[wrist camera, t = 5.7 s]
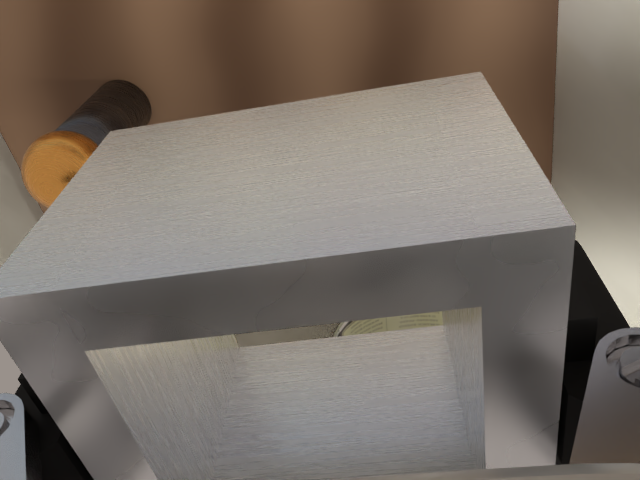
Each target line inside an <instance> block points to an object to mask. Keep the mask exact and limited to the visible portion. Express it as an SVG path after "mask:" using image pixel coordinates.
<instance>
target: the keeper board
mask: <svg viewBox="0 0 640 480" xmlns="http://www.w3.org/2000/svg"><path fill="white" fill-rule="evenodd" d="M558 1H559V0H0V132H1V134H2V136H3V138H4V140H5V142H6V143H7V145H8V147H9V149H10V151H11V153H12V155H13V157H14V158H15V160H16V162H17V164H18V166H19V168H20V170H21V165H22V160H23V157H24V154H25V152H26V151H27V149H28V147H29V146H30V145H31V144H32V143H33V142H34V141H35V140H36V139H38V138H39V137H41V136H42V135H45V134H47V133H50V132H54V131H55V130H56V129H57V128H58V127H59V126H60V125H61V124H62V123H63V122H64V121H65V120H66V119H67V118H69V117H70V116H71V115H72V114H73V113H74V112H75V111H76V110H77V109H78V108H79V107H80V106H81V105H82V104H83V103H84V102H85V101H86V100H87V99H88V98H90V97H91V96H92V95H93V94H94V93H95V92H96V91H97V90H98V89H99V88H100V87H101V86H102V85H103V84H105V83H106V82H109V81H112V80H124V81H128V82H130V83H133V84H134V85H136V86H137V87H139V88H140V89H141V90H142V91H143V92H144V93H145V95H146V96H147V98H148V99H149V102H150V105H151V110H152V114H151V119H150V121H149V123H148V125H152V124H158V123H164V122H171V121H177V120H183V119H189V118H195V117H202V116H208V115H214V114H220V113H226V112H233V111H239V110H245V109H251V108H257V107H264V106H270V105H276V104H282V103H288V102H295V101H301V100H307V99H313V98H319V97H326V96H332V95H338V94H344V93H350V92H357V91H363V90H369V89H375V88H381V87H388V86H394V85H400V84H406V83H412V82H419V81H425V80H431V79H437V78H443V77H450V76H456V75H462V74H468V73H474V72H481V73H482V74H483V76H484V77H485V79H486V81H487V82H488V84H489V85H490V87H491V89H492V90H493V92H494V94H495V95H496V97H497V98H498V100H499V102H500V103H501V105H502V106H503V108H504V110H505V111H506V113H507V114H508V116H509V118H510V119H511V121H512V123H513V124H514V126H515V127H516V129H517V131H518V132H519V134H520V135H521V137H522V139H523V140H524V142H525V143H526V145H527V147H528V148H529V150H530V152H531V153H532V155H533V156H534V158H535V160H536V161H537V163H538V164H539V166H540V168H541V169H542V171H543V172H544V174H545V176H546V177H547V179H548V181H549V182H550V184H551V177H552V152H553V127H554V102H555V77H556V52H557V26H558ZM38 203H39V202H38ZM39 205H40V207H41V209H42V211H43V213H45V212H46V211H47V209H48V208H47V207H45V206H43V205H42V204H40V203H39Z"/></svg>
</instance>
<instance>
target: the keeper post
mask: <svg viewBox="0 0 640 480" xmlns="http://www.w3.org/2000/svg"><path fill="white" fill-rule="evenodd" d="M151 114H152V110H151V105H150V102H149V99H148V98H147V96H146V95H145V93H144V92H143V91H142V90H141V89H140V88H139V87H137V86H136V85H134V84H133V83H130V82H128V81H124V80H112V81H109V82H106V83H105V84H103V85H102V86H101V87H100V88H99V89H98V90H97V91H96V92H95V93H94V94H93V95H92V96H91V97H90V98H88V99H87V100H86V101H85V102H84V103H83V104H82V105H81V106H80V107H79V108H78V109H77V110H76V111H75V112H74V113H73V114H72V115H71V116H70V117H69V118H67V119H66V120H65V121H64V122H63V123H62V124H61V125H60V126H59V127H58V128H57V129H56V130H55V131H54V132H50V133H47V134H45V135H42V136H41V137H39V138H38V139H36V140H35V141H34V142H33V143H32V144H31V145H30V146H29V147H28V149H27V151H26V152H25V154H24V157H23V160H22V165H21V173H22V179H23V182H24V185H25V187H26V189H27V190H28V192H29V193H30V195H31V196H32V197H33V198H34V199H35V200H36V201H37V202H39V203H40V204H42V205H43V206H45V207H47V208H49V207H50V206H51V204H52V203H53V202H54V201H55V199H56V198H57V197H58V196H59V194H60V193H61V192H62V191H63V189H64V188H65V187H66V186H67V184H68V183H69V182H70V181H71V179H72V178H73V177H74V176H75V174H76V173H77V172H78V171H79V170H80V168H81V167H82V166H83V165H84V163H85V162H86V161H87V160H88V158H89V157H90V156H91V155H92V153H93V152H94V151H95V150H96V148H97V147H98V146H99V145H100V143H101V142H102V141H103V140H104V138H105V137H106V136H107V135H108V133H109V132H110V131H115V130H121V129H127V128H133V127H140V126H146V125H148V123H149V121H150V119H151Z"/></svg>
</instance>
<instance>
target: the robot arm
mask: <svg viewBox="0 0 640 480" xmlns="http://www.w3.org/2000/svg"><path fill="white" fill-rule="evenodd" d="M18 380H19V382H20V383H21V385H20V387H19V388H18V390H17V391H16V393H15V395H14V394H9V393H2V394H0V480H94V479H93V477H92V476H91V474H90V473H89V472H88V470H87V469H86V467H85V466H84V464H83V463H82V461H81V460H80V458H79V457H78V455H77V454H76V452H75V451H74V449H73V448H72V446H71V445H70V443H69V442H68V440H67V439H66V437H65V436H64V434H63V433H62V432H61V430H60V429H59V427H58V426H57V424H56V423H55V421H54V420H53V418H52V417H51V415H50V414H49V412H48V411H47V409H46V408H45V406H44V405H43V403H42V402H41V400H40V399H39V397H38V396H37V394H36V393H35V391H34V390H33V389H32V387H31V386H30V384H29V383H28V381H27V380H26V378H25V377H24V375H23V374H22V373H21V375H20V377H19V378H18ZM338 480H640V328H638V327H634V328H630V326H629V325H628V323H627V321H626V320H625V318H624V316H623V315H622V313H621V311H620V310H619V308H618V306H617V305H616V303H615V301H614V300H613V298H612V296H611V295H610V293H609V291H608V290H607V288H606V286H605V285H604V283H603V281H602V280H601V278H600V276H599V275H598V273H597V271H596V270H595V268H594V266H593V265H592V263H591V261H590V260H589V258H588V256H587V255H586V253H585V251H584V250H583V248H582V246H581V245H580V244H579V243H578V241H576V240H575V243H574V255H573V266H572V278H571V290H570V301H569V313H568V324H567V336H566V347H565V359H564V370H563V382H562V394H561V405H560V417H559V428H558V440H557V451H556V463H555V465H546V466H528V467H511V468H493V469H476V470H462V471H448V472H435V473H421V474H407V475H393V476H380V477H366V478H352V479H338Z"/></svg>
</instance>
